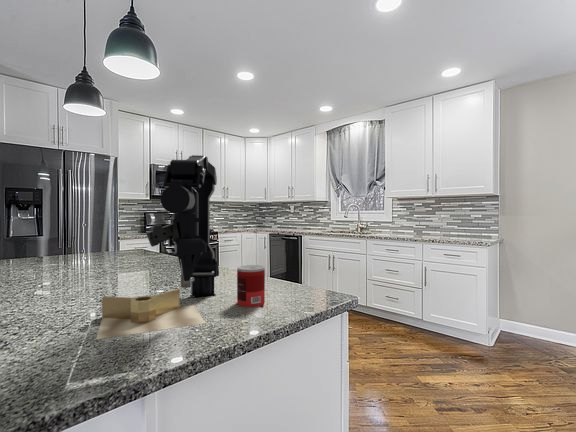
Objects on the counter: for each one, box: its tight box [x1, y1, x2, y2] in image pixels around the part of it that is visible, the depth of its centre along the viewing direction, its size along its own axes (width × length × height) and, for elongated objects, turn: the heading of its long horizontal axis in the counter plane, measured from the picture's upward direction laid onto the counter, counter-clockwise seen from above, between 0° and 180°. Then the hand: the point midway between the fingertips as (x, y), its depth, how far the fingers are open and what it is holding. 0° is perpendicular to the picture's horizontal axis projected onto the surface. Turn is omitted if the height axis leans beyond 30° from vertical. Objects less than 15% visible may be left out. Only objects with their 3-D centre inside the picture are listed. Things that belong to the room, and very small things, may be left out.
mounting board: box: [95, 304, 207, 341], centre depth 76 cm, size 22×16×1 cm
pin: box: [180, 267, 192, 289], centre depth 74 cm, size 2×2×8 cm
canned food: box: [236, 264, 266, 308], centre depth 90 cm, size 8×8×11 cm
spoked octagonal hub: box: [101, 288, 180, 324], centre depth 78 cm, size 18×9×5 cm, turn 116°
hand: (185, 279), depth 74 cm, fingers closed on pin, 2 cm apart
